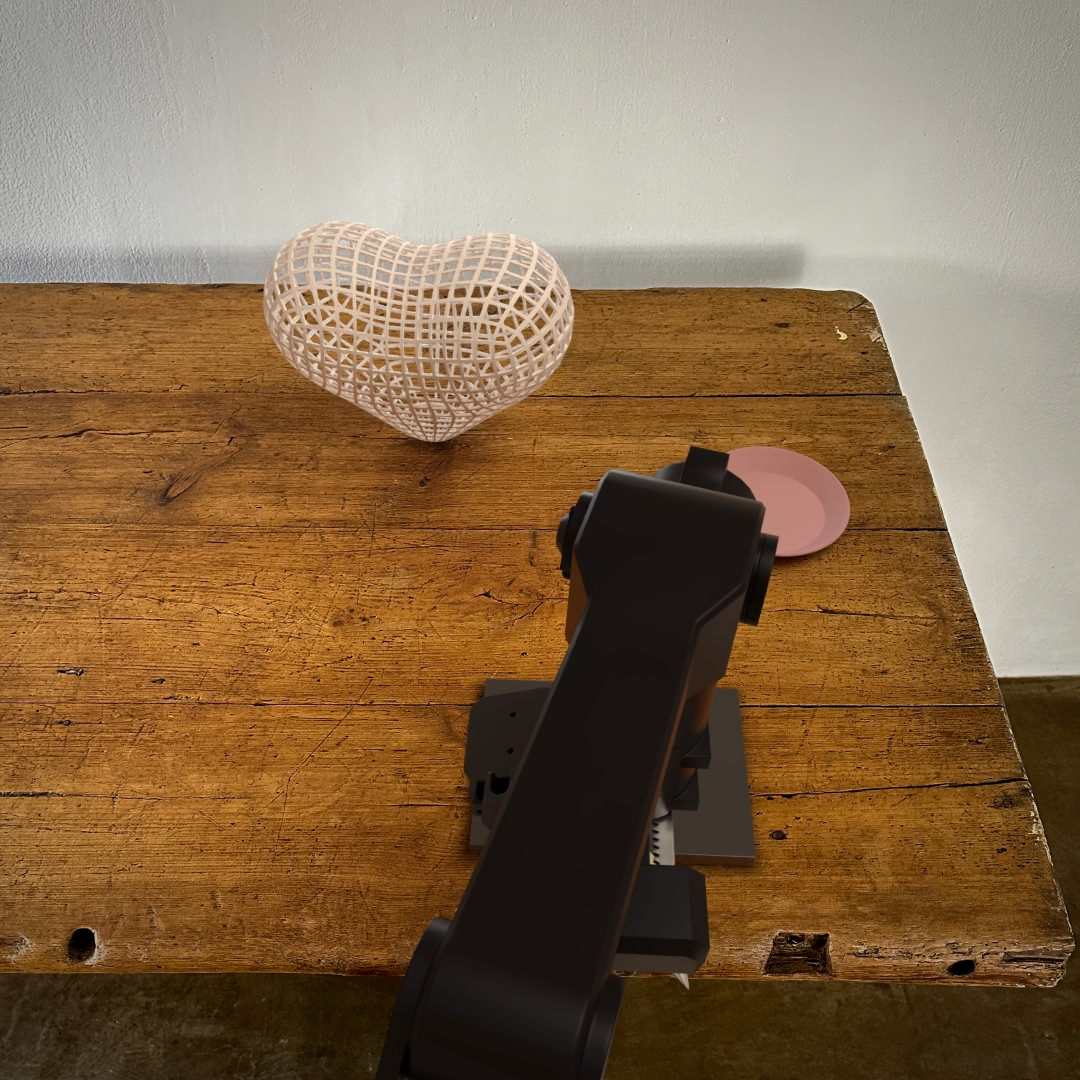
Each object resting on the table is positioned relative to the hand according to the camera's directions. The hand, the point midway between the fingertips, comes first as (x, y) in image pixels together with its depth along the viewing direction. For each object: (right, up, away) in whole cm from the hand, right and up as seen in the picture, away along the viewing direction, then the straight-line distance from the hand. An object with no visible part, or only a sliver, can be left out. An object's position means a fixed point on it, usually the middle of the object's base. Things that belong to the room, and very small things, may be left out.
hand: (624, 846), depth 56 cm
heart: (-16, +28, +43) cm, 54 cm away
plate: (+17, +20, +36) cm, 45 cm away
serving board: (+1, 0, +18) cm, 18 cm away
